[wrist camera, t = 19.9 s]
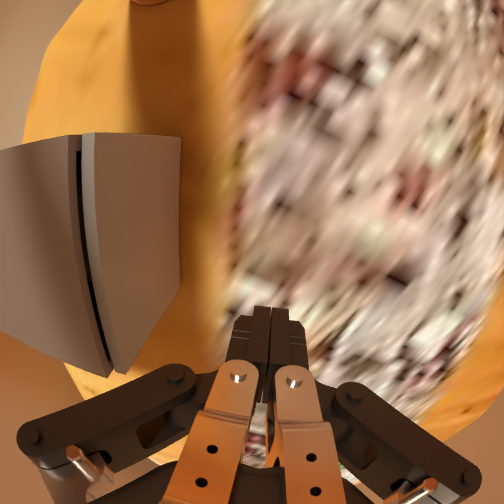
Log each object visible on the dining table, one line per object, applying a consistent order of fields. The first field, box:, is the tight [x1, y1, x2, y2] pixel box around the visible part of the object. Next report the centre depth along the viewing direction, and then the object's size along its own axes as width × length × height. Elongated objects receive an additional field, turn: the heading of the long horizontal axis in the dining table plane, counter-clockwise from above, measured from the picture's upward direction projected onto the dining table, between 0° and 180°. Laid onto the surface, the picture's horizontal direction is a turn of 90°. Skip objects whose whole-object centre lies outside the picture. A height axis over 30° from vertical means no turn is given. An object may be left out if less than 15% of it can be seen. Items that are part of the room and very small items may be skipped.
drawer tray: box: [76, 133, 182, 375], centre depth 24 cm, size 18×20×16 cm
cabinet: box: [0, 135, 114, 378], centre depth 24 cm, size 18×20×17 cm
